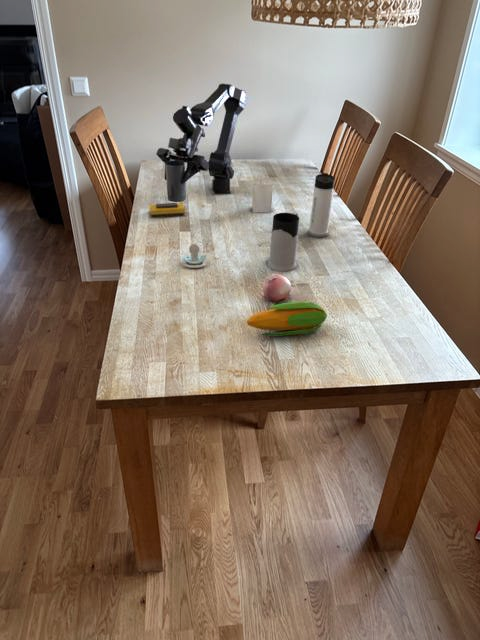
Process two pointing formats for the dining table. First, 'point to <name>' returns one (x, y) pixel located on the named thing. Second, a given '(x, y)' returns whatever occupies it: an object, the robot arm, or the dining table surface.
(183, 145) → the robot arm
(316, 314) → the corn
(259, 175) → the dining table surface
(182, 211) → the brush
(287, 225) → the glass holder
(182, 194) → the tumbler
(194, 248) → the pacifier
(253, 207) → the beige rectangular block
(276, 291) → the onion
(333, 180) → the travel mug
